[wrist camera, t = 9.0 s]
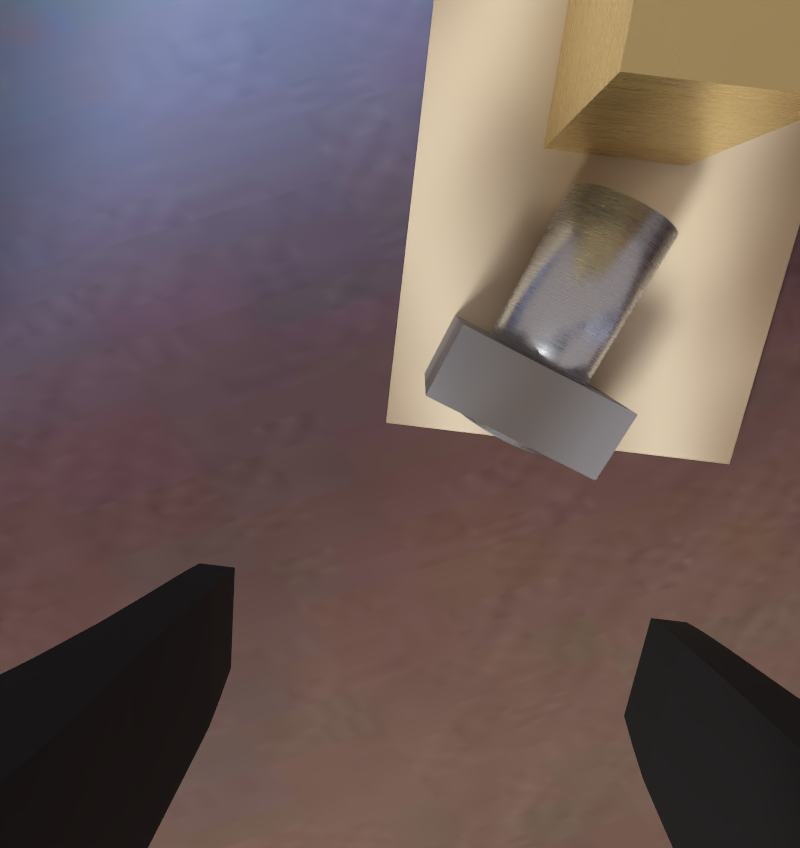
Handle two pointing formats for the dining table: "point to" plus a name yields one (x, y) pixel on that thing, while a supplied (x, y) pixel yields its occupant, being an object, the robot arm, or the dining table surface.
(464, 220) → the board
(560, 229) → the shaft angled
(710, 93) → the yellow rectangular block
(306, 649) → the dining table surface
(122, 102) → the dining table surface
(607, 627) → the dining table surface
